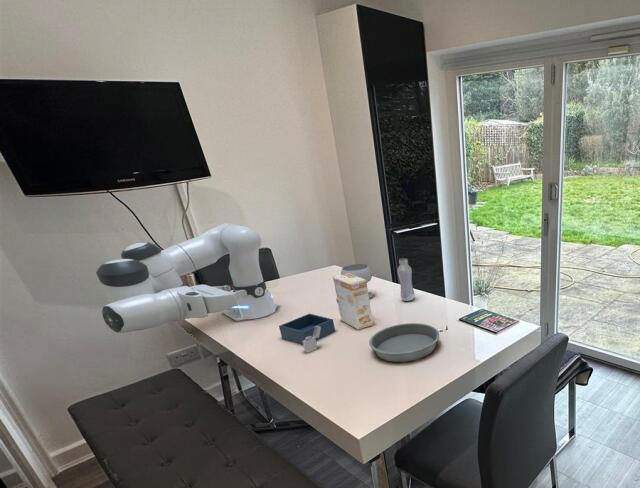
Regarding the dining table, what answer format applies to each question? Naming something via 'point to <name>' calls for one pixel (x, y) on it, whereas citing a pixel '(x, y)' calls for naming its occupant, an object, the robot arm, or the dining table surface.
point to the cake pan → (404, 342)
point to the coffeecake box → (353, 300)
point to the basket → (306, 328)
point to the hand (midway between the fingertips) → (237, 290)
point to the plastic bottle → (405, 280)
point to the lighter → (311, 340)
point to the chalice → (359, 272)
